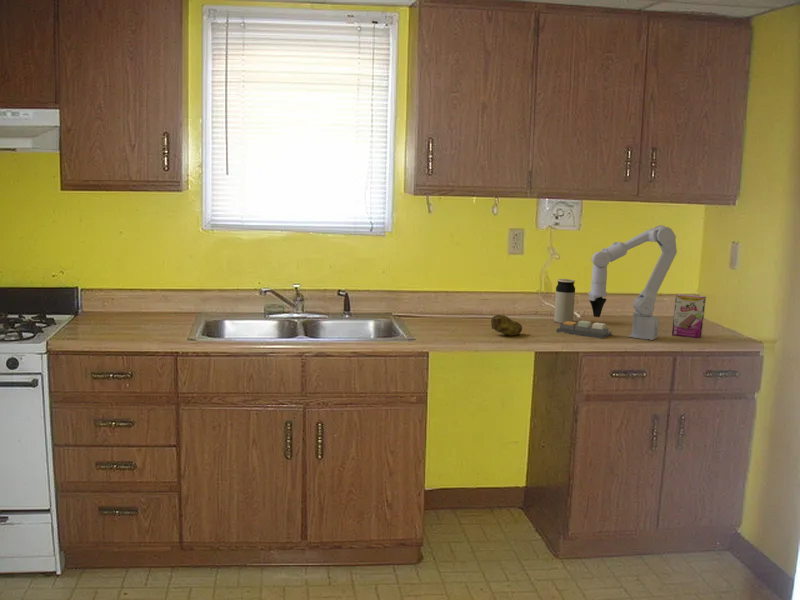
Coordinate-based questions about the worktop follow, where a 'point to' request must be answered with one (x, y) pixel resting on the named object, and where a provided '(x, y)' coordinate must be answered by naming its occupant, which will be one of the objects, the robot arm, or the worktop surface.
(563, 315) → the travel mug
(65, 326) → the worktop surface
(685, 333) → the candy bar box
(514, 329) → the potato
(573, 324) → the button orange
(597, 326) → the button cream
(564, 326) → the panel
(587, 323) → the button sage
